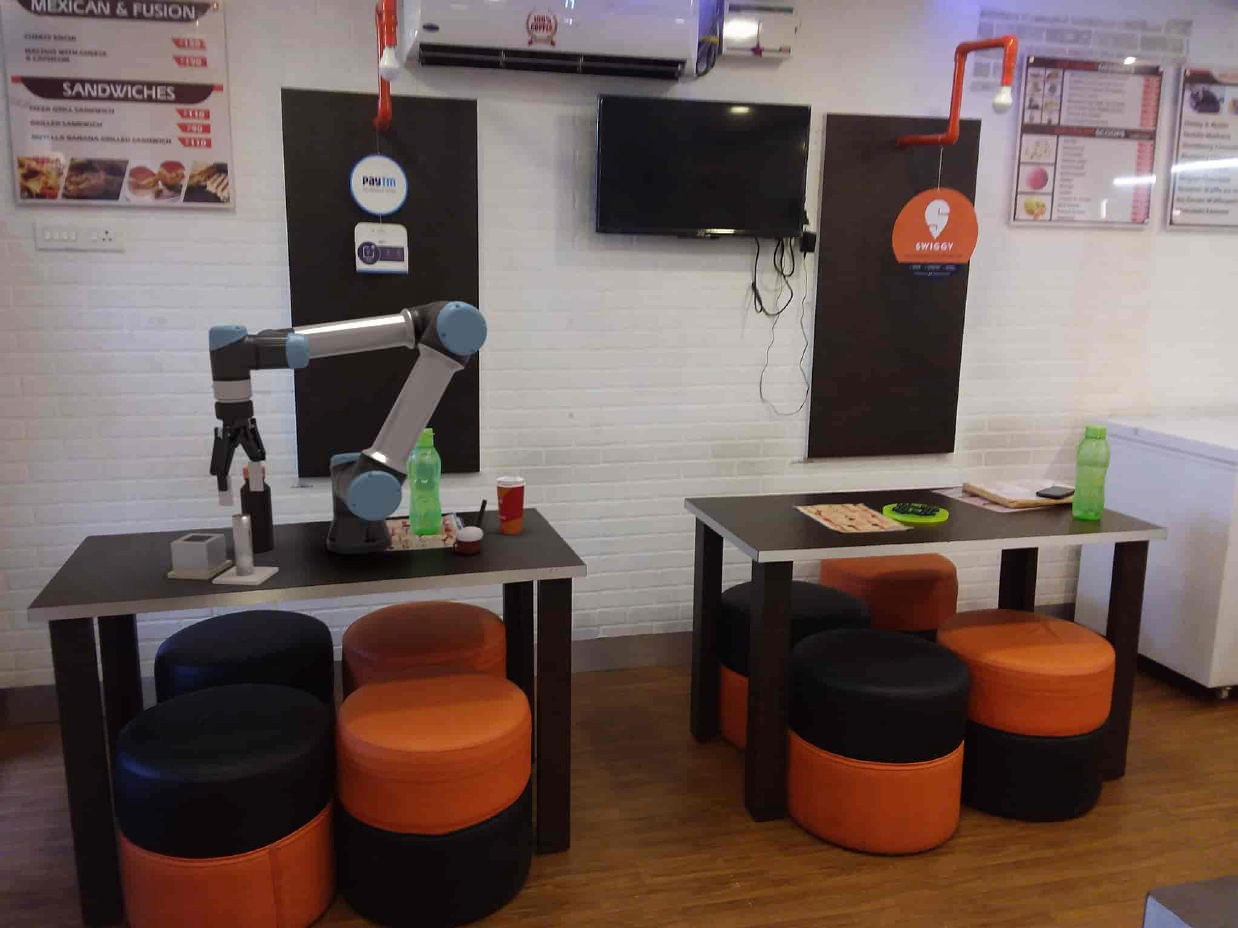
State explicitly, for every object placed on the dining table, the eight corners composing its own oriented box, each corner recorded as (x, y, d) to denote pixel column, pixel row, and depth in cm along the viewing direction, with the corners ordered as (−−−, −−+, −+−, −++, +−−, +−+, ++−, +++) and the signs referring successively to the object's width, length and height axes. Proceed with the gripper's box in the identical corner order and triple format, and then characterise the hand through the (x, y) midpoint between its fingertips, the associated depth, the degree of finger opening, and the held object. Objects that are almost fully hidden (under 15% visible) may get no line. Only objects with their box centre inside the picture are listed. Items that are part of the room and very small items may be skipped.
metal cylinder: (235, 572, 206) (231, 514, 204) (253, 570, 208) (249, 513, 205) (236, 576, 203) (232, 518, 201) (254, 574, 205) (250, 516, 202)
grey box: (241, 558, 219) (239, 527, 218) (207, 579, 204) (204, 546, 202) (204, 557, 220) (201, 526, 218) (167, 578, 205) (164, 544, 203)
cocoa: (455, 559, 221) (451, 510, 218) (449, 550, 227) (446, 503, 224) (494, 553, 225) (491, 505, 222) (488, 545, 230) (485, 498, 227)
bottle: (274, 551, 225) (269, 469, 221) (244, 554, 223) (237, 471, 219) (274, 543, 231) (269, 464, 227) (244, 546, 229) (238, 465, 225)
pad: (278, 570, 210) (278, 567, 210) (257, 585, 200) (257, 581, 200) (235, 569, 211) (235, 565, 211) (212, 583, 201) (212, 579, 201)
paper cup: (500, 527, 248) (499, 475, 245) (529, 528, 247) (528, 476, 244) (492, 535, 240) (491, 481, 238) (522, 536, 239) (521, 482, 237)
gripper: (244, 392, 211) (252, 484, 215) (184, 408, 186) (195, 512, 191) (276, 392, 210) (284, 485, 214) (221, 408, 186) (230, 512, 190)
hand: (242, 498), depth 202 cm, fingers open, 13 cm apart
